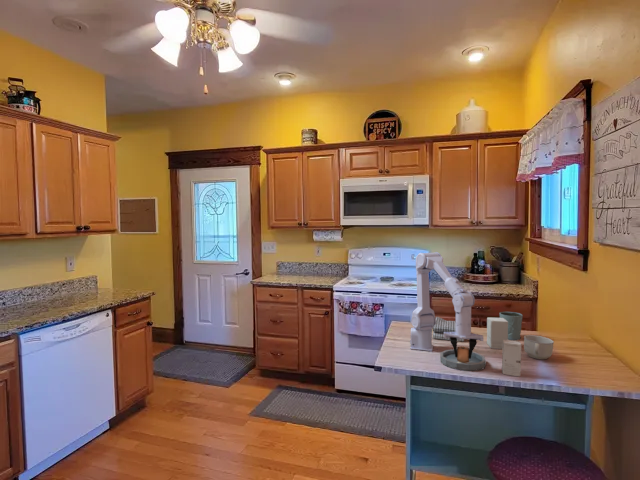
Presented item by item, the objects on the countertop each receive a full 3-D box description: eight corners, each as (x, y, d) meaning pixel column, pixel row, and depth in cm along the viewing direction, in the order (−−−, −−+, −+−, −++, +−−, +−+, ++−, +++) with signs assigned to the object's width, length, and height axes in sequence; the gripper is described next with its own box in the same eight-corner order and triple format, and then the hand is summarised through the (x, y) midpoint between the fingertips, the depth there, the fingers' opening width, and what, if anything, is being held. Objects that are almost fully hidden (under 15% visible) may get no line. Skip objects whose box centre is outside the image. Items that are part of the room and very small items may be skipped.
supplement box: (508, 349, 166) (508, 321, 165) (490, 348, 167) (490, 320, 167) (503, 344, 173) (503, 317, 173) (486, 343, 175) (486, 316, 174)
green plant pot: (497, 338, 182) (497, 314, 181) (501, 333, 190) (501, 310, 189) (520, 342, 176) (521, 317, 175) (523, 336, 184) (523, 312, 184)
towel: (432, 340, 181) (432, 324, 181) (433, 330, 198) (433, 315, 198) (465, 343, 176) (465, 326, 176) (464, 332, 193) (464, 317, 193)
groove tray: (440, 367, 145) (440, 361, 145) (440, 353, 162) (440, 347, 161) (487, 373, 140) (487, 366, 140) (483, 357, 156) (483, 351, 156)
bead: (456, 361, 145) (457, 349, 145) (457, 358, 149) (457, 345, 149) (469, 363, 144) (469, 350, 143) (468, 359, 148) (468, 346, 147)
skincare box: (502, 374, 139) (503, 342, 138) (501, 370, 143) (502, 339, 142) (521, 376, 136) (521, 344, 136) (519, 372, 141) (520, 340, 140)
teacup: (528, 350, 164) (528, 332, 164) (556, 356, 156) (556, 338, 156) (517, 359, 154) (517, 340, 154) (547, 366, 147) (547, 346, 146)
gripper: (443, 324, 144) (443, 358, 145) (484, 327, 140) (483, 362, 140) (443, 319, 151) (443, 352, 152) (482, 322, 146) (482, 356, 147)
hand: (462, 357), depth 146 cm, fingers closed on bead, 4 cm apart
